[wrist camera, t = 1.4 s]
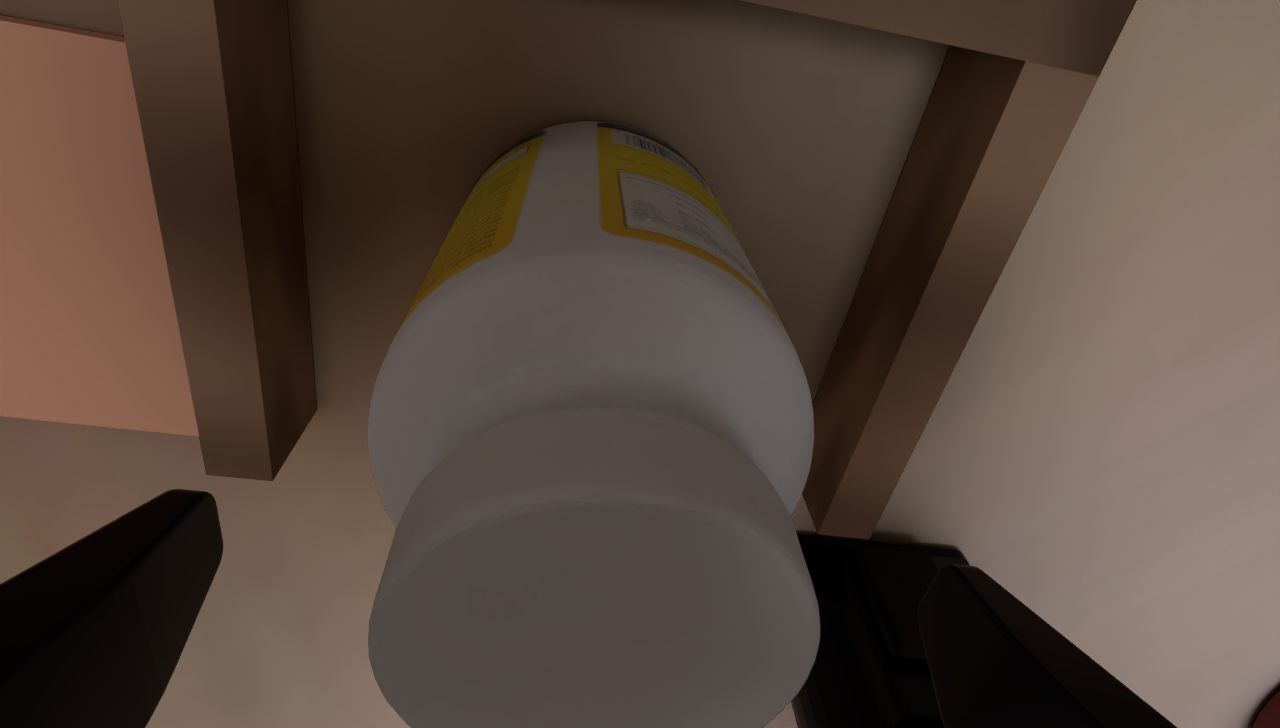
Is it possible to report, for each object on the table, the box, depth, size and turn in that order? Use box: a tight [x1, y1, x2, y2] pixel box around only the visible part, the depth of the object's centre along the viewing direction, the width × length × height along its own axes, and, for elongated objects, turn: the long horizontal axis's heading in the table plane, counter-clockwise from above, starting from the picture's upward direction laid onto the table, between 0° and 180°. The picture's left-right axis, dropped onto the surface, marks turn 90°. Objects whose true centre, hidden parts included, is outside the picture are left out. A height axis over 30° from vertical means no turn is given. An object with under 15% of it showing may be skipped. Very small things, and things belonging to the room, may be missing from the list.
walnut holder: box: [117, 0, 1137, 539], centre depth 15 cm, size 14×17×3 cm
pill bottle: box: [367, 121, 820, 728], centre depth 12 cm, size 6×6×12 cm
